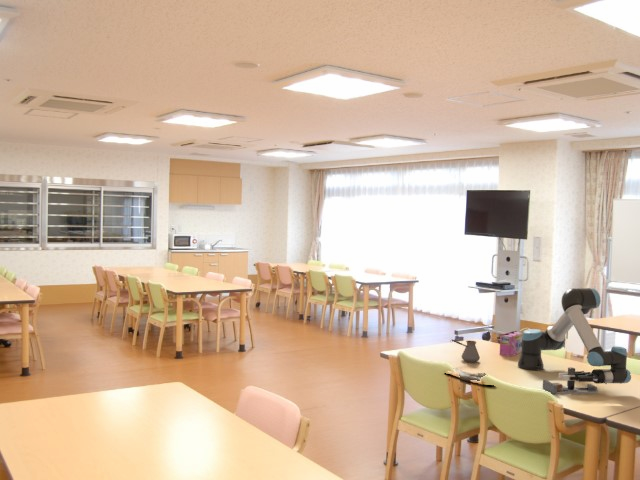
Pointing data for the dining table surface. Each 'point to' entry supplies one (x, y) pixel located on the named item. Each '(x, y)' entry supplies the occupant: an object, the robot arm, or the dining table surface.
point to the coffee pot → (469, 352)
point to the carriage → (570, 383)
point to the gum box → (511, 343)
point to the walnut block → (558, 386)
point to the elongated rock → (470, 375)
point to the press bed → (581, 390)
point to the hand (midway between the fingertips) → (561, 376)
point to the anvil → (550, 387)
